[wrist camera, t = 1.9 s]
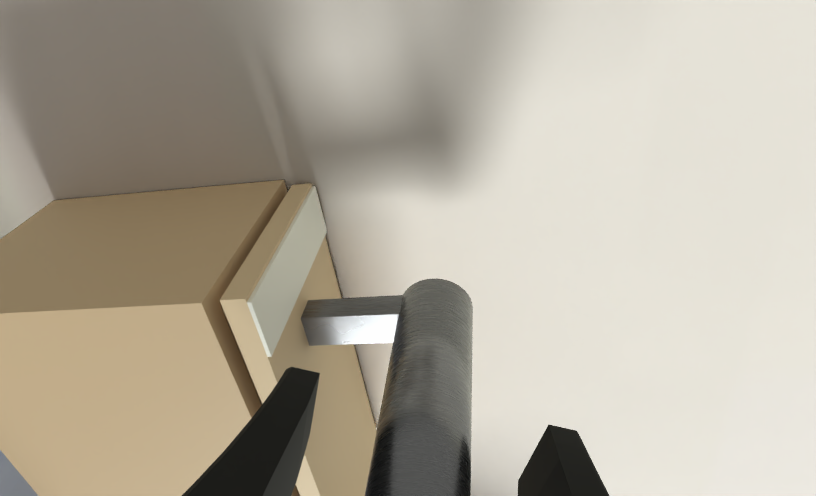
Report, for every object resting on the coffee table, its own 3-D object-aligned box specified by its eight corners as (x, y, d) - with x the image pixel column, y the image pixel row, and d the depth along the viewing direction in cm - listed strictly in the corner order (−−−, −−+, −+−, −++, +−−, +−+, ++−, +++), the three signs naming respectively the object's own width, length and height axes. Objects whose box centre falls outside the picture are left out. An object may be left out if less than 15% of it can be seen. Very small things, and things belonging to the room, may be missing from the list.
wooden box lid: (363, 437, 23) (300, 744, 14) (292, 184, 17) (111, 471, 8) (491, 436, 22) (498, 762, 14) (464, 169, 16) (451, 472, 8)
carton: (184, 439, 24) (108, 580, 19) (53, 200, 18) (-109, 319, 13) (359, 437, 23) (326, 589, 18) (283, 179, 17) (201, 303, 12)
